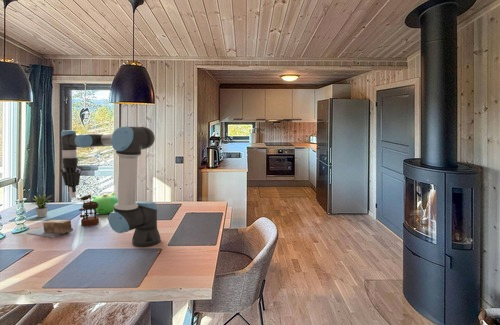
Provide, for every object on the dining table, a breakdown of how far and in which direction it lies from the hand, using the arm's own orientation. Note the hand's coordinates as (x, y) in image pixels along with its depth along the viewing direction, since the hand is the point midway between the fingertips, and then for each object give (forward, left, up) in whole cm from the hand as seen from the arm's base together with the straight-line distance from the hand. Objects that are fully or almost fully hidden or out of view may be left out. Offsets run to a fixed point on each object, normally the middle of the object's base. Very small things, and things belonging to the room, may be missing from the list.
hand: (72, 197), depth 179 cm
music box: (+6, -20, -23) cm, 31 cm away
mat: (+17, 0, -23) cm, 28 cm away
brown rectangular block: (+5, 0, -18) cm, 19 cm away
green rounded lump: (+14, -43, -23) cm, 51 cm away
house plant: (+48, -22, -23) cm, 57 cm away
